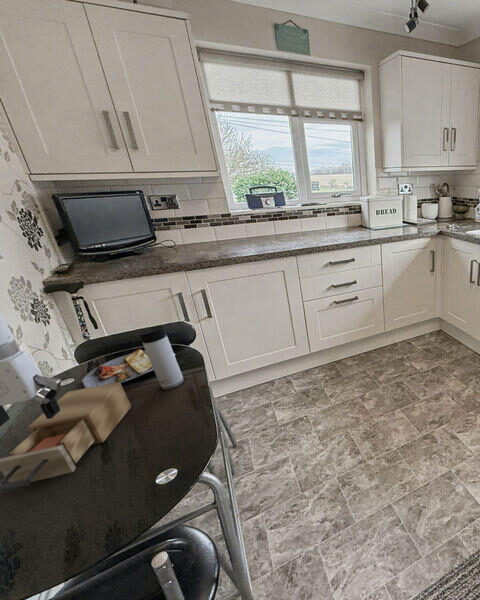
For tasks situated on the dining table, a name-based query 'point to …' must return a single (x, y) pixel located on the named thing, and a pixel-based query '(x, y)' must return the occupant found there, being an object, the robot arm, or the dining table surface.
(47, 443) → the block
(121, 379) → the food plate
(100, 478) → the dining table surface
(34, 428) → the cabinet
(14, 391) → the robot arm
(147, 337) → the travel mug
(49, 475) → the drawer
